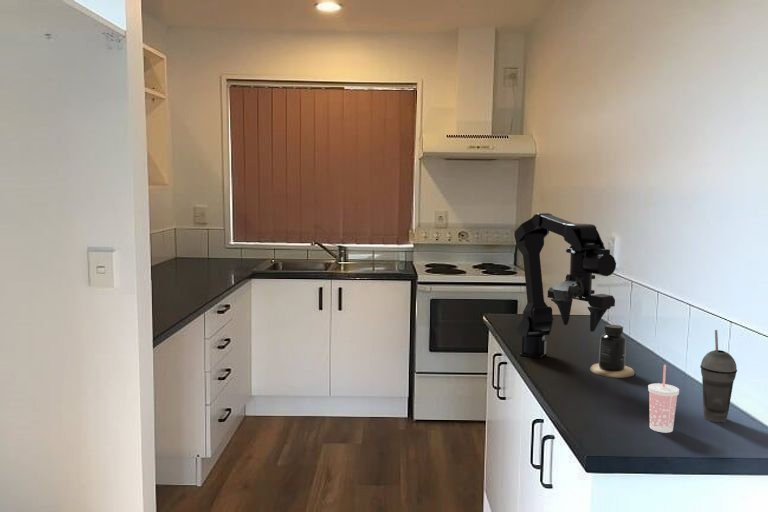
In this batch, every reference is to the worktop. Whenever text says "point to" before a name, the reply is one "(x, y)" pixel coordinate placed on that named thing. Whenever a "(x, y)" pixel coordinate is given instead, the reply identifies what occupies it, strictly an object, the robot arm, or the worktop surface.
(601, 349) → the supplement bottle
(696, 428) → the worktop surface
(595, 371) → the coaster
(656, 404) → the beverage cup
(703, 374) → the beverage cup
